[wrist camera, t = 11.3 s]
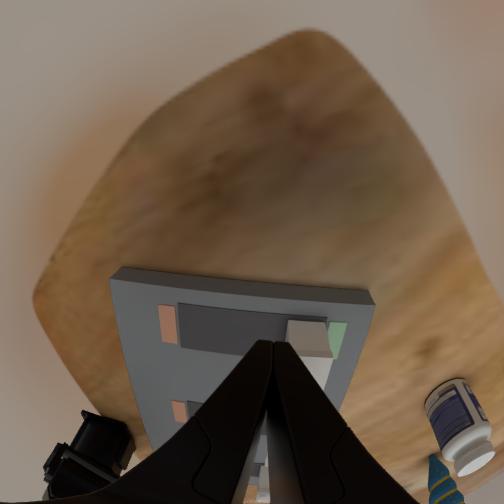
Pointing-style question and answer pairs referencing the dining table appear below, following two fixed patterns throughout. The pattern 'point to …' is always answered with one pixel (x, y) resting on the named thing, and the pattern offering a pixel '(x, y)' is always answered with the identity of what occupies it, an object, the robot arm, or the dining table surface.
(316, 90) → the dining table surface
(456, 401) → the pill bottle
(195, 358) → the breaker panel
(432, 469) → the ornament
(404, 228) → the dining table surface
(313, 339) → the handle
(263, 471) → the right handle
